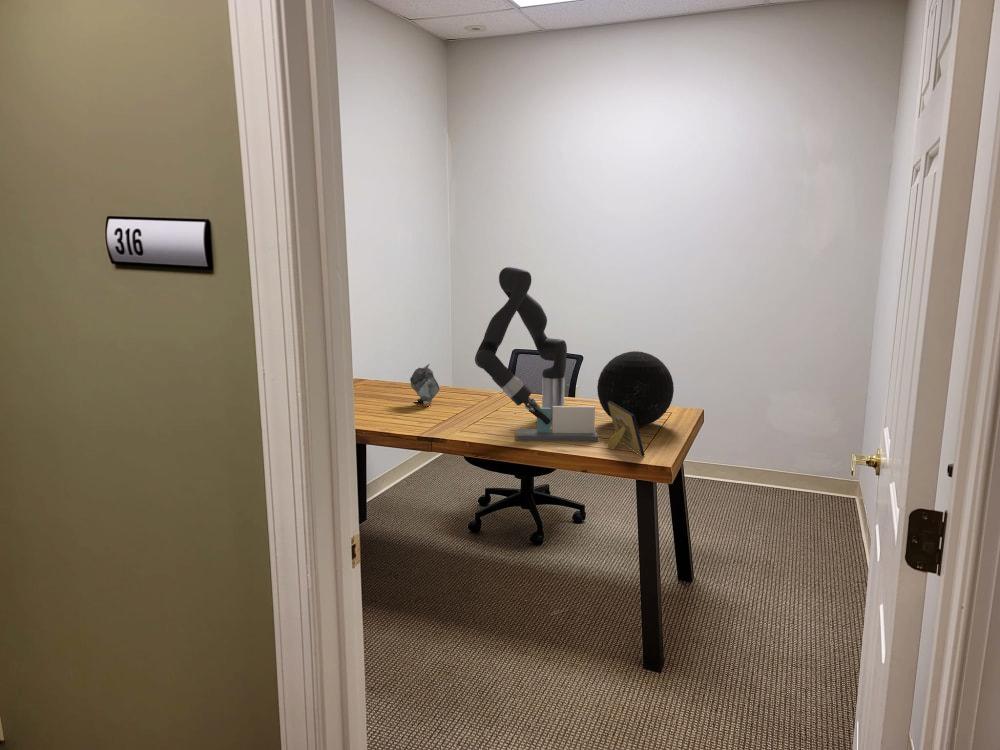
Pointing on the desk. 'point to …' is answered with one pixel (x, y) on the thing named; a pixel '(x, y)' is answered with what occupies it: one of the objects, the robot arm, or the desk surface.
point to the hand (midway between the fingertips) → (548, 422)
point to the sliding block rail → (565, 426)
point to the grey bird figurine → (424, 385)
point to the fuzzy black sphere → (636, 386)
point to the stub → (540, 424)
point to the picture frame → (624, 429)
